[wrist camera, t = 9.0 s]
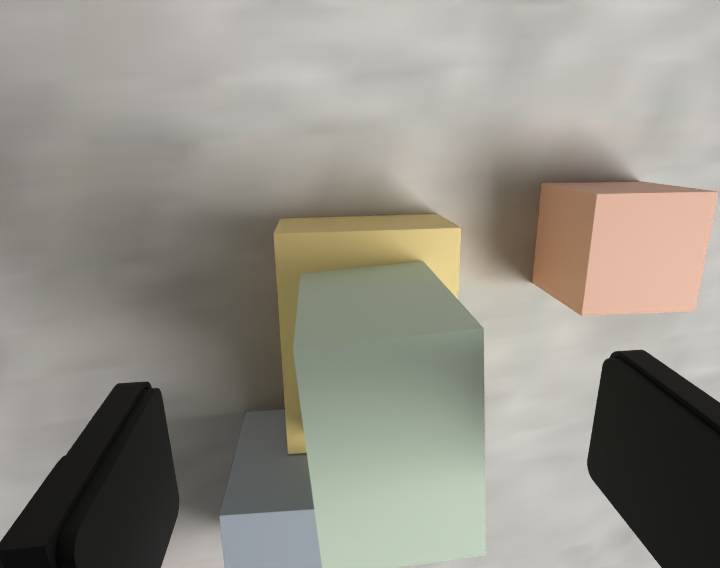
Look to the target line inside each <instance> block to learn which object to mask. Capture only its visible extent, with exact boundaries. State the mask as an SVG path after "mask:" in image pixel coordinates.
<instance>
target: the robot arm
mask: <svg viewBox="0 0 720 568" xmlns="http://www.w3.org/2000/svg"><path fill="white" fill-rule="evenodd" d="M587 466H588V471H589V474H590V476H591V478H592V480H593V481H594V482H595V484H596V485H597V486H598V487H599V489H600V490H601V491H602V492H603V494H604V495H605V496H606V497H607V499H608V500H609V501H610V503H611V504H612V505H613V506H614V508H615V509H616V510H617V511H618V513H619V514H620V515H621V517H622V518H623V519H624V520H625V522H626V523H627V524H628V525H629V527H630V528H631V529H632V531H633V532H634V533H635V534H636V536H637V537H638V538H639V539H640V541H641V542H642V543H643V545H644V546H645V547H646V548H647V550H648V551H649V552H650V553H651V555H652V556H653V557H654V559H655V560H656V561H657V562H658V564H659V565H660V566H661V567H662V568H720V403H719V402H718V401H716V400H715V399H714V398H712V397H711V396H709V395H708V394H706V393H705V392H704V391H702V390H701V389H699V388H698V387H696V386H695V385H693V384H692V383H691V382H689V381H688V380H686V379H685V378H683V377H682V376H680V375H679V374H678V373H676V372H675V371H673V370H672V369H670V368H669V367H667V366H666V365H665V364H663V363H662V362H660V361H659V360H657V359H656V358H654V357H653V356H652V355H650V354H649V353H647V352H646V351H643V350H630V351H615V352H614V353H612V354H611V356H610V358H609V359H606V360H605V361H604V363H603V366H602V372H601V379H600V385H599V391H598V397H597V403H596V410H595V416H594V422H593V428H592V434H591V441H590V447H589V453H588V459H587ZM178 510H179V494H178V488H177V482H176V476H175V470H174V464H173V458H172V452H171V447H170V441H169V435H168V429H167V423H166V417H165V411H164V405H163V399H162V394H161V391H160V389H159V388H153V389H152V387H151V385H150V383H149V382H134V383H119V384H117V385H116V386H115V387H114V388H113V390H112V391H111V392H110V394H109V395H108V397H107V398H106V399H105V401H104V402H103V404H102V405H101V406H100V408H99V409H98V411H97V412H96V413H95V415H94V416H93V418H92V419H91V421H90V422H89V423H88V425H87V426H86V428H85V429H84V430H83V432H82V433H81V435H80V436H79V437H78V439H77V440H76V442H75V443H74V444H73V446H72V447H71V449H70V450H69V451H68V453H67V454H66V455H65V456H63V457H62V458H61V459H60V460H59V461H58V462H57V464H56V465H55V467H54V468H53V469H52V471H51V472H50V474H49V475H48V476H47V478H46V479H45V481H44V482H43V483H42V485H41V486H40V488H39V489H38V490H37V492H36V493H35V494H34V496H33V497H32V499H31V500H30V501H29V503H28V504H27V506H26V507H25V508H24V510H23V511H22V513H21V514H20V515H19V517H18V518H17V520H16V521H15V522H14V524H13V525H12V526H11V528H10V529H9V531H8V532H7V533H6V535H5V536H4V538H3V539H2V540H1V542H0V568H161V566H162V562H163V559H164V556H165V553H166V550H167V547H168V544H169V541H170V538H171V535H172V531H173V528H174V525H175V522H176V519H177V516H178Z"/></svg>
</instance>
